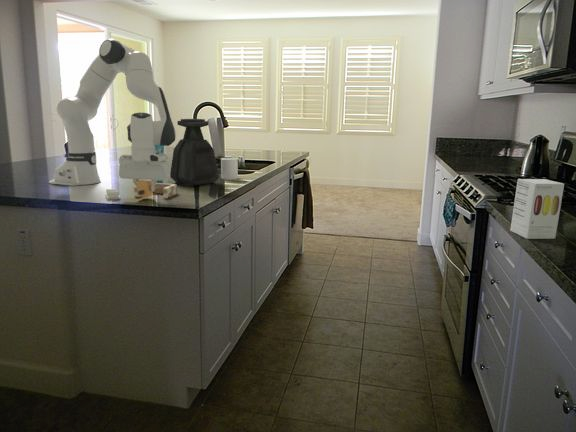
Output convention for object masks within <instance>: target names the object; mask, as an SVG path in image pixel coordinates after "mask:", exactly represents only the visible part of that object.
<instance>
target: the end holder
mask: <svg viewBox="0 0 576 432" xmlns="http://www.w3.org/2000/svg"><path fill="white" fill-rule="evenodd" d="M133 188H134V191H133V192H134V197H138V190H136V186H135V185H134V187H133ZM154 189H155V190H154V191H153V192H154V193H153V194H162V195H163V197H162V198H163V199H169V198H170V197H173V196H176V195H177V194H178V183H164V182H163V183H156V185H155V186H154ZM168 197H169V198H168ZM138 198H139V197H138Z"/></svg>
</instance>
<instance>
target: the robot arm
mask: <svg viewBox="0 0 576 432" xmlns="http://www.w3.org/2000/svg"><path fill="white" fill-rule="evenodd" d="M98 51H99V52H98V55H97V56H96V57H95V59H94V60H93V61H92V62H91V63H90V65H89V67H88V68H87V69H86V71H85V73H84V74H83V76H82V77H81V79H80V82H79V88H78V90H77V92H76V95H75V96H68V97H65V98H64V99H62V100H60V101H59V102H58V103H57V106H56V112H57V115H58V116H59V117H60V119H61V121H62V124H63V127H64V130H65V134H66V138H67V139H66V140H67V146H68V147H67V148H68V152H67V153H64V155H63V158H65V161H64V162H63V163H61V164H60V165H59V166H58V167H56V168H55V170H54V172H53V179H51V180H49V181H48V184H53V185H62V186H71V187H72V186H75V187H76V186H83V185H95V184H99V183H101V178H100V175H99V172H98V168H97V153H96V151H95V141H94V140H95V139H94V135H93V133H92V131H91V128H90V124H89V121H91V120H93V119H94V118H95V117H96V116H97V113H98V109H99V107H100V104H101V102H102V99H103V98H104V96H105V94H106V93H107V91H108V89H109V88H110V86H111V85H112V83H113V82H114V80H115V78H116V77H117V76H118V74H120V73H123V74H124V76H125V83H126V87H127V90H128V91H129V93H130V94H132V95H133V97H135V98H138V99H139V100H143V101H146V102H147V103H151V104H152V105H154V106H155V107H156V108H157V111H158V115H159V119H160V120H153V116H152V115H151V114H150V113H147V112H134V113H133V114H131V116H130V123H129V124H128V125H127V126H126V130H127V140H128V141H129V142H130V143H131V148H130V149H131V152H130V153H131V154H122V155H120V156H119V158H118V162H119V167H118V175H119V177H120V179H122V180H123V179H124V180H125V179H128V180H132V183H133V184H134V187H135V186H136V190H138V188H137V181H140V180H151V183H152V185H151V186H150V187H149V191H154V190H155V189H154V186H155V185H156V183H157V180H162V181H163V182H164V181H168V180H170V179H171V178H170V172H171V167H170V164H169V162H168V161H167V160H168V155H167V154H165V153H164V154H163V153H160V152H158V151H155V146H154V145H161V146H164V147H169V146H170V145H172V144H173V143H175V141H176V136H177V133H176V128H175V125H174V124H173V121H172V117H171V114H170V110H169V107H168V103H167V100H166V97H165V93H164V91H163V89H162V87H160V86H158V85H157V83H156V82H155V80H154V72H153V67H152V63H151V62H152V61H151V60H150V57H149V56H148V54H146V53H144V52H142V51H135V49H133V48H131V47H129V46H127V45H125V44H124V43H122V42H120V41H119V40H117V39H114V38H108V39H106V40H104V41H103V42H102V43H101V45H100V47H99V49H98Z"/></svg>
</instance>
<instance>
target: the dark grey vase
mask: <svg viewBox="0 0 576 432" xmlns="http://www.w3.org/2000/svg"><path fill="white" fill-rule="evenodd" d="M176 124H177V126H179V127H180V126H181V127H184V129H185V130H184V132H183V138H181V139H180V140H179V141H178V142H177V144H176V145H175V147H174V148H173V153H172V160H171V165H170V166H171V167H170V178H169V179H172V180H173V181H174V182H175V184H180V185H184V186H188V185H189V187H198V186H204V185H210V184H214V183H215V182H217V180H218V179H219V178H220V174H219V170H218V163H217V159H216V155H215V149H214V148H213V146H212V145H211V144H210V142H209V141H208V140H207V139H205V138H204V135H203V132H202V129H201V128H204V127H207V126H209V121H207V120H206V119H205V118H180V120H177V123H176Z"/></svg>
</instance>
